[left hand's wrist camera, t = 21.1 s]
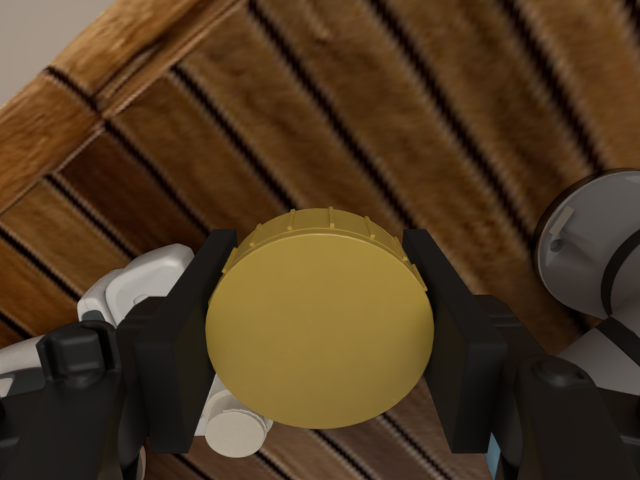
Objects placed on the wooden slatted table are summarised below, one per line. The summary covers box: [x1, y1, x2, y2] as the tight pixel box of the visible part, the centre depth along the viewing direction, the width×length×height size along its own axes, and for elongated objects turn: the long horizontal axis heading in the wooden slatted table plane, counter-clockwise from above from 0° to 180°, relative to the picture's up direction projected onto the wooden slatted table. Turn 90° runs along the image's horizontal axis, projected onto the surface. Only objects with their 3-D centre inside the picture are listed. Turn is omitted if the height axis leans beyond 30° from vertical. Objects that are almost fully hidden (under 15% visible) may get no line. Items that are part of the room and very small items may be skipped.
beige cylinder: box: [204, 374, 273, 458], centre depth 37 cm, size 5×5×19 cm
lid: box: [205, 207, 434, 429], centre depth 11 cm, size 6×6×2 cm
